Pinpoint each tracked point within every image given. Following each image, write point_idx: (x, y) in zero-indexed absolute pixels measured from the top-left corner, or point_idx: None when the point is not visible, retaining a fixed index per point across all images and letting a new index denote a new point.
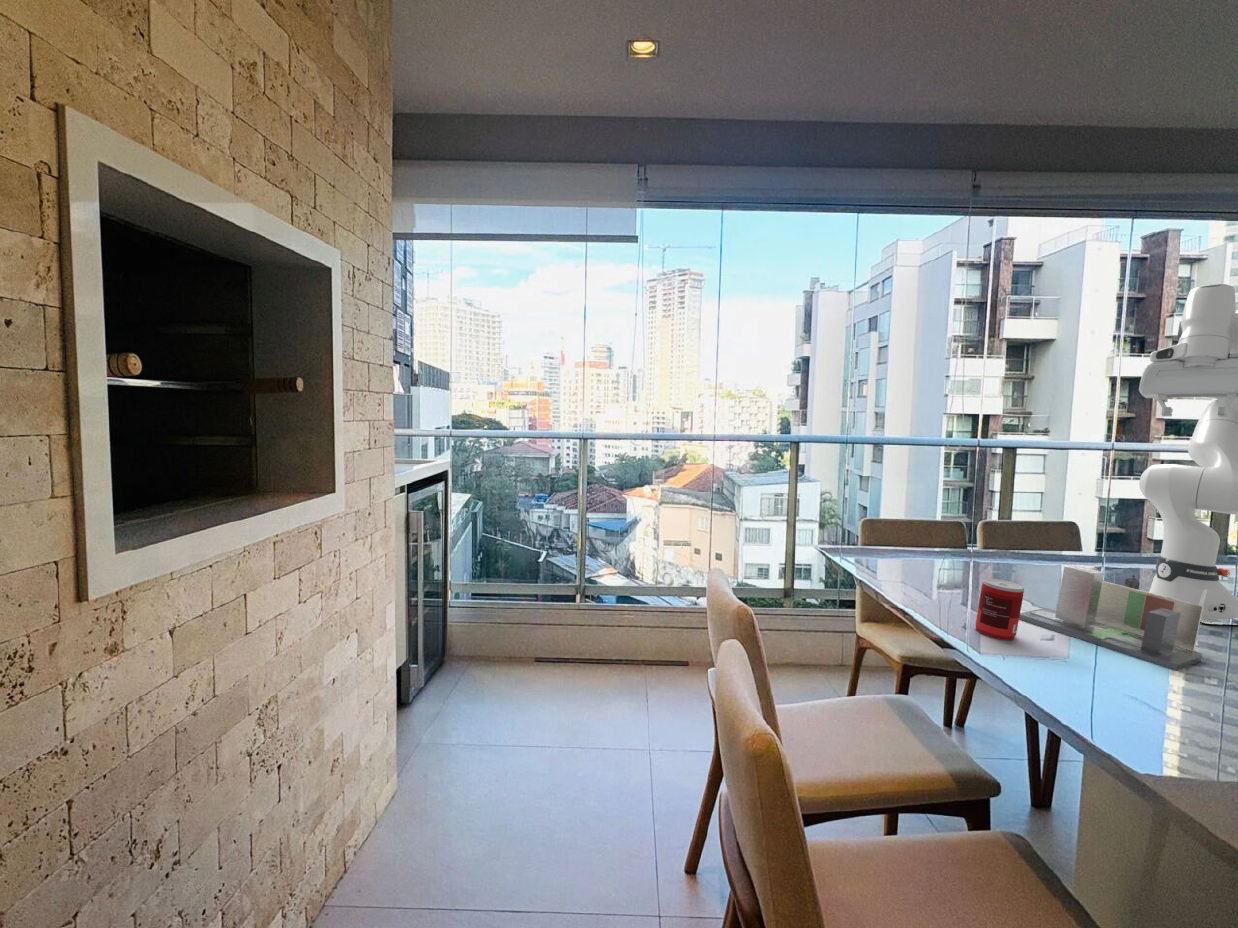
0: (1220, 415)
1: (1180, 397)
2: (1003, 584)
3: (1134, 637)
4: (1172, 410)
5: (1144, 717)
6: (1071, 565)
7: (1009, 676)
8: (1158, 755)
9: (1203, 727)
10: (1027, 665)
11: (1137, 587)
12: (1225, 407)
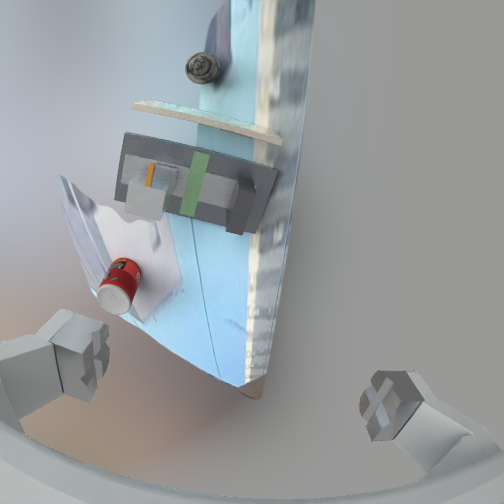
0: (372, 391)
1: (65, 456)
2: (112, 296)
3: (218, 167)
4: (87, 349)
5: (236, 343)
6: (127, 191)
7: (170, 344)
8: (243, 372)
9: (263, 332)
10: (169, 320)
11: (207, 69)
12: (396, 435)
